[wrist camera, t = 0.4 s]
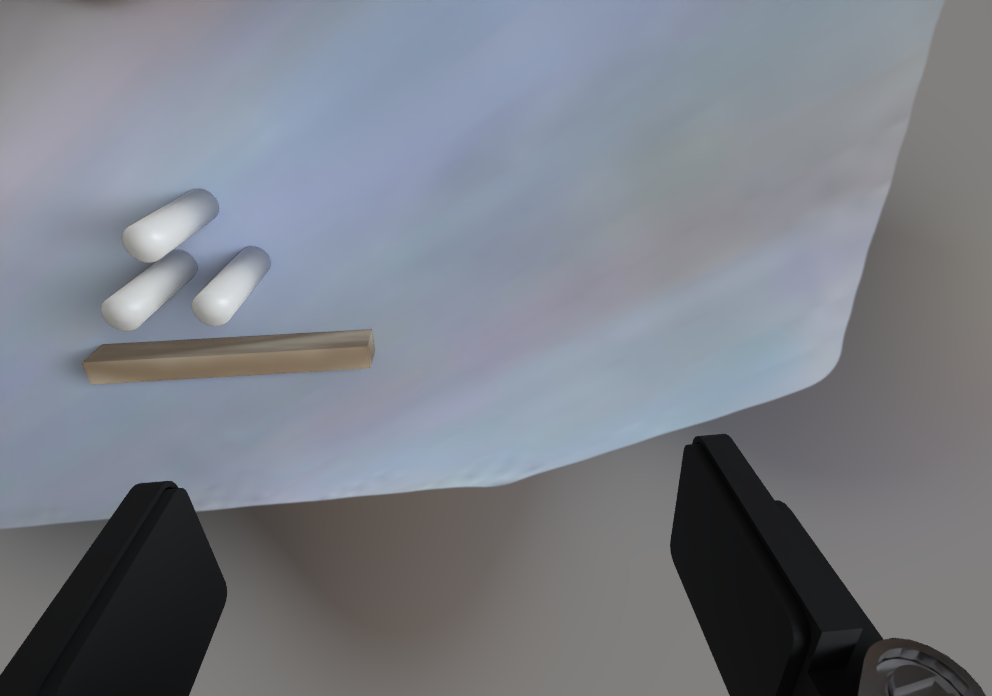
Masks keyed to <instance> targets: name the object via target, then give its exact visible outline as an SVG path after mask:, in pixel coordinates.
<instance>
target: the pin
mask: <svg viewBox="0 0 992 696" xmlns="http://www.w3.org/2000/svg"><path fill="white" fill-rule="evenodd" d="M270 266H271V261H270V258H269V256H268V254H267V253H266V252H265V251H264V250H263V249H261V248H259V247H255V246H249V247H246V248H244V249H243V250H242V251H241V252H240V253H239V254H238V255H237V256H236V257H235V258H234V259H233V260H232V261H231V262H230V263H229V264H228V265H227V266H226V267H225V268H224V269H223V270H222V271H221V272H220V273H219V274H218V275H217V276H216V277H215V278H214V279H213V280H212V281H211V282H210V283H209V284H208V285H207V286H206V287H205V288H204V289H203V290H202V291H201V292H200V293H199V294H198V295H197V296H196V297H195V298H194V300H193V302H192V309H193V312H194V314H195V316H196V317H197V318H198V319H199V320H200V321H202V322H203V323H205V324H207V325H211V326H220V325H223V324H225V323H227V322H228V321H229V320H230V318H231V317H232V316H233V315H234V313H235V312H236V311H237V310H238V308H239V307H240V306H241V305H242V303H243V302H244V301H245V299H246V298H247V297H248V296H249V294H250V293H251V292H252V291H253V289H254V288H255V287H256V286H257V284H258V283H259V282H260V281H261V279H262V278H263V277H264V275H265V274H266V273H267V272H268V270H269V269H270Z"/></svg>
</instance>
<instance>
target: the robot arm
mask: <svg viewBox="0 0 992 696" xmlns="http://www.w3.org/2000/svg"><path fill="white" fill-rule="evenodd" d="M670 548H671V555H672V559H673V562H674V565H675V567H676V569H677V572H678V574H679V577H680V579H681V581H682V584H683V586H684V588H685V591H686V593H687V596H688V598H689V600H690V602H691V605H692V607H693V610H694V612H695V614H696V617H697V619H698V622H699V624H700V626H701V629H702V631H703V633H704V636H705V638H706V640H707V643H708V645H709V648H710V650H711V652H712V655H713V657H714V659H715V662H716V664H717V667H718V669H719V671H720V673H721V676H722V678H723V681H724V683H725V685H726V688H727V690H728V693H729V695H730V696H986V695H985V693H984V692H983V690H982V688H981V687H980V686H979V684H978V683H977V682H976V681H975V680H974V679H973V678H972V676H971V675H970V674H969V673H968V672H967V671H966V670H965V669H964V668H962V667H961V666H960V665H959V664H957V663H956V662H955V661H954V660H952V659H951V658H950V657H948V656H947V655H945V654H943V653H941V652H939V651H938V650H936V649H934V648H932V647H930V646H928V645H925V644H922V643H919V642H916V641H913V640H909V639H900V638H889V639H884V640H883V638H882V637H881V635H880V634H879V633H878V631H877V630H876V629H875V627H874V626H873V624H872V623H871V621H870V620H869V619H868V617H867V616H866V614H865V613H864V612H863V610H862V609H861V608H860V606H859V605H858V603H857V602H856V601H855V599H854V598H853V596H852V595H851V593H850V592H849V591H848V590H847V588H846V586H845V585H844V584H843V582H842V581H841V580H840V578H839V577H838V575H837V574H836V572H835V571H834V570H833V568H832V567H831V565H830V564H829V563H828V561H827V560H826V558H825V557H824V556H823V554H822V553H821V552H820V550H819V549H818V548H817V546H816V545H815V543H814V542H813V540H812V539H811V538H810V536H809V535H808V533H807V532H806V531H805V529H804V528H803V527H802V525H801V524H800V522H799V521H798V519H797V518H796V516H795V515H794V514H793V512H792V511H791V510H790V509H789V508H788V507H787V505H786V504H785V503H783V502H781V501H775V500H774V499H773V498H772V496H771V495H770V493H769V492H768V490H767V489H766V487H765V486H764V485H763V483H762V482H761V480H760V479H759V477H758V476H757V475H756V473H755V472H754V470H753V469H752V467H751V466H750V465H749V463H748V462H747V460H746V459H745V457H744V456H743V454H742V453H741V451H740V450H739V449H738V447H737V446H736V444H735V443H734V441H733V440H732V439H731V437H729V435H727V434H717V435H707V436H706V435H705V436H697V437H695V438H694V440H693V443H692V444H691V445H686V446H685V448H684V453H683V459H682V467H681V474H680V480H679V487H678V493H677V501H676V507H675V514H674V521H673V528H672V535H671V542H670ZM226 597H227V587H226V582H225V580H224V578H223V575H222V573H221V571H220V568H219V566H218V563H217V561H216V559H215V557H214V554H213V552H212V549H211V547H210V545H209V542H208V540H207V538H206V536H205V533H204V531H203V528H202V526H201V524H200V521H199V519H198V517H197V514H196V512H195V510H194V507H193V505H192V503H191V500H190V498H189V496H188V493H187V492H186V490H185V489H183V488H178V487H177V485H176V484H175V483H174V482H173V481H163V482H151V483H139V484H137V485H135V486H134V487H133V488H132V489H131V490H130V491H129V493H128V494H127V495H126V497H125V498H124V500H123V501H122V503H121V504H120V505H119V507H118V508H117V510H116V511H115V513H114V514H113V515H112V517H111V518H110V520H109V521H108V523H107V524H106V525H105V527H104V528H103V530H102V531H101V533H100V534H99V535H98V537H97V538H96V540H95V541H94V543H93V544H92V545H91V547H90V548H89V550H88V551H87V553H86V554H85V555H84V557H83V558H82V560H81V561H80V562H79V564H78V565H77V567H76V568H75V570H74V571H73V573H72V574H71V575H70V577H69V579H68V580H67V581H66V582H65V584H64V585H63V587H62V588H61V590H60V591H59V593H58V594H57V595H56V597H55V598H54V600H53V601H52V602H51V604H50V605H49V607H48V608H47V609H46V611H45V612H44V614H43V615H42V617H41V618H40V620H39V621H38V622H37V624H36V625H35V627H34V628H33V629H32V631H31V632H30V634H29V635H28V637H27V638H26V639H25V641H24V642H23V644H22V645H21V647H20V648H19V650H18V651H17V652H16V654H15V655H14V657H13V658H12V659H11V661H10V662H9V664H8V665H7V666H6V668H5V669H4V671H3V672H2V674H1V675H0V696H189V694H190V692H191V689H192V686H193V684H194V682H195V679H196V676H197V674H198V671H199V669H200V666H201V664H202V661H203V659H204V656H205V654H206V651H207V649H208V646H209V644H210V641H211V638H212V636H213V633H214V631H215V628H216V626H217V623H218V621H219V618H220V615H221V613H222V611H223V608H224V606H225V602H226Z"/></svg>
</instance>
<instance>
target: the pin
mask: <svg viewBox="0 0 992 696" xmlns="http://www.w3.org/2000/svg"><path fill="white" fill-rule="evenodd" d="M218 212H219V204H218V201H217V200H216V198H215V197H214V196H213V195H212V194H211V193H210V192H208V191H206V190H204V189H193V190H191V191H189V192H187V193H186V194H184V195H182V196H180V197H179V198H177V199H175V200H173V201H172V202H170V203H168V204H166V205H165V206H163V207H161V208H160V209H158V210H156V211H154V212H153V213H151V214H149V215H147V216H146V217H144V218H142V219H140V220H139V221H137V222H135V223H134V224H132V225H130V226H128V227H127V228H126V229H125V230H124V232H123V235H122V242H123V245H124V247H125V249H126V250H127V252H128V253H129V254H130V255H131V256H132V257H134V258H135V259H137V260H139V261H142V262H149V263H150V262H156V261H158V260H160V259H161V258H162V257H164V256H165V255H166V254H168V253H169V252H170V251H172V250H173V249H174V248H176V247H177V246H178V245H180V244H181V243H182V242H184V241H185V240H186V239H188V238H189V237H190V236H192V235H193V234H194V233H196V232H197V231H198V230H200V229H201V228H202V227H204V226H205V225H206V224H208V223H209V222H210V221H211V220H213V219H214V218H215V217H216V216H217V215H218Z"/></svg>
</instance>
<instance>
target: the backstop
mask: <svg viewBox="0 0 992 696" xmlns="http://www.w3.org/2000/svg"><path fill="white" fill-rule="evenodd" d="M374 352H375V347H374V340H373V334H372V330H354V331H336V332H319V333H301V334H283V335H265V336H247V337H229V338H211V339H193V340H176V341H158V342H140V343H122V344H104V345H101V346H100V347H99V348H98V349H97V350H96V351H95V352H93V353H92V354H91V355H90V356H89V357H88V358H87V359H85V360H84V361H83V362H82V365H83V367H84V369H85V372H86V374H87V376H88V378H89V381H90V383H91V385H93V384H110V383H127V382H144V381H161V380H177V379H194V378H211V377H228V376H245V375H262V374H279V373H296V372H312V371H329V370H346V369H363V368H371V364H372V360H373V356H374Z"/></svg>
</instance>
